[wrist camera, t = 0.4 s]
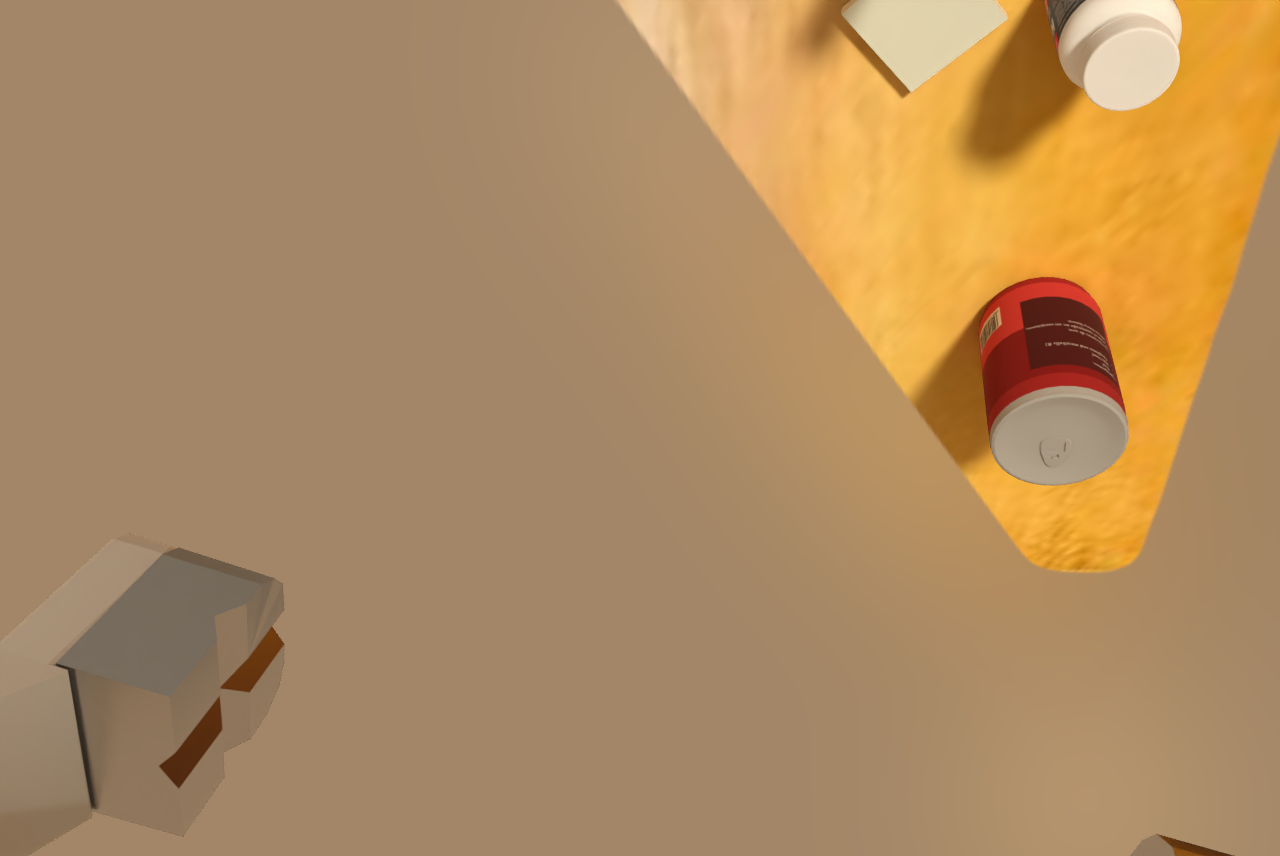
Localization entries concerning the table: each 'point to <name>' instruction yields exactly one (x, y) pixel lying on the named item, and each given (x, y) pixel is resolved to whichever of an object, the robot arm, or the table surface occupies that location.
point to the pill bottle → (1117, 48)
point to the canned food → (1050, 384)
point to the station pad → (922, 32)
